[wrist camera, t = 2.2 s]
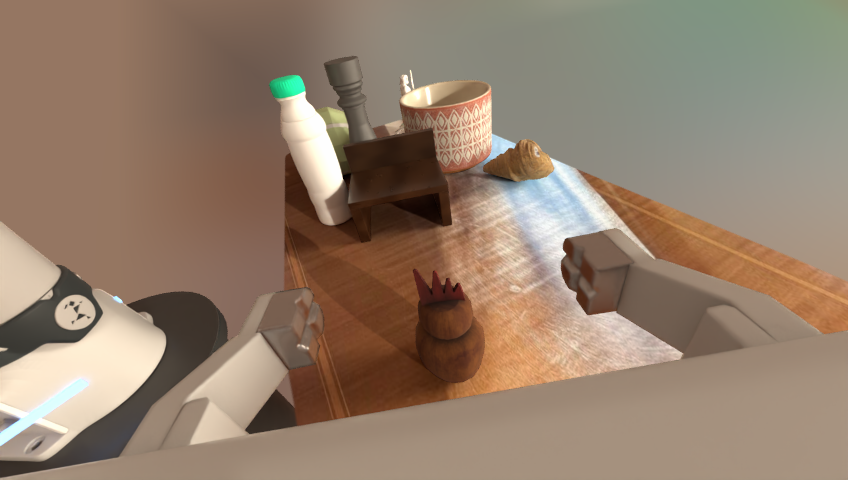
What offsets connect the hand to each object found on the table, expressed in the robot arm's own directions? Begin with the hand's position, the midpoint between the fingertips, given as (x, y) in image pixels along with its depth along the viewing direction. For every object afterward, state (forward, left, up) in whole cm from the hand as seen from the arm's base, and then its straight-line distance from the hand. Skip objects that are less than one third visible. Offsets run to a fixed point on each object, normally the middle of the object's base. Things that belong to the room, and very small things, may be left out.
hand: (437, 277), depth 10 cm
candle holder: (-7, +53, -25) cm, 59 cm away
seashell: (+22, +47, -25) cm, 57 cm away
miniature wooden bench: (-2, +42, -25) cm, 48 cm away
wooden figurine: (+1, +11, -25) cm, 27 cm away
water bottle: (-15, +46, -25) cm, 54 cm away
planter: (+11, +62, -25) cm, 67 cm away
